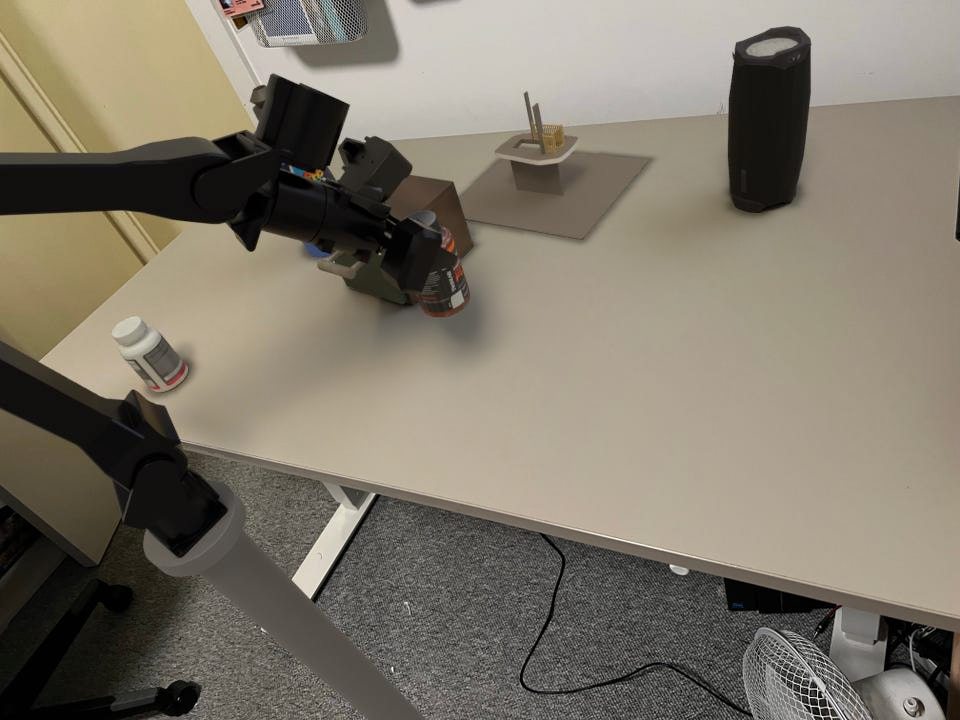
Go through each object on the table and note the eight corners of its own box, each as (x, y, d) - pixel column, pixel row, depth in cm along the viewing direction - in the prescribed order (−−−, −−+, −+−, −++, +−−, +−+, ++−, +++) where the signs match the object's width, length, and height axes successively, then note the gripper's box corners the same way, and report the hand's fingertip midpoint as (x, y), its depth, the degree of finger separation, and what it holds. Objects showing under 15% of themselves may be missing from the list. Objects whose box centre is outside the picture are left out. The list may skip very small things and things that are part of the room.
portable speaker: (768, 171, 86) (780, 17, 73) (816, 199, 79) (838, 36, 66) (711, 193, 85) (713, 43, 72) (754, 224, 78) (764, 65, 65)
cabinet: (414, 305, 84) (386, 239, 77) (352, 285, 91) (321, 223, 84) (473, 246, 91) (453, 181, 84) (411, 232, 98) (387, 171, 91)
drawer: (382, 324, 81) (357, 270, 76) (326, 304, 88) (298, 253, 82) (459, 250, 89) (441, 195, 83) (402, 236, 96) (382, 185, 90)
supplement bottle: (477, 309, 71) (450, 224, 63) (427, 327, 71) (394, 243, 63) (465, 281, 75) (438, 198, 68) (418, 297, 75) (386, 216, 68)
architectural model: (513, 147, 109) (495, 65, 100) (649, 159, 96) (642, 65, 86) (442, 215, 99) (414, 130, 90) (582, 239, 85) (566, 142, 76)
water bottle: (368, 237, 100) (300, 80, 83) (316, 265, 98) (235, 109, 81) (348, 217, 107) (280, 67, 90) (298, 242, 105) (220, 94, 88)
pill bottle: (189, 359, 88) (147, 306, 82) (189, 383, 84) (145, 329, 78) (152, 375, 88) (107, 323, 81) (150, 399, 84) (103, 347, 77)
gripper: (388, 151, 50) (522, 206, 61) (301, 107, 63) (424, 159, 73) (342, 279, 53) (477, 311, 64) (267, 212, 66) (390, 248, 76)
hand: (440, 250), depth 69 cm, fingers closed on supplement bottle, 6 cm apart
